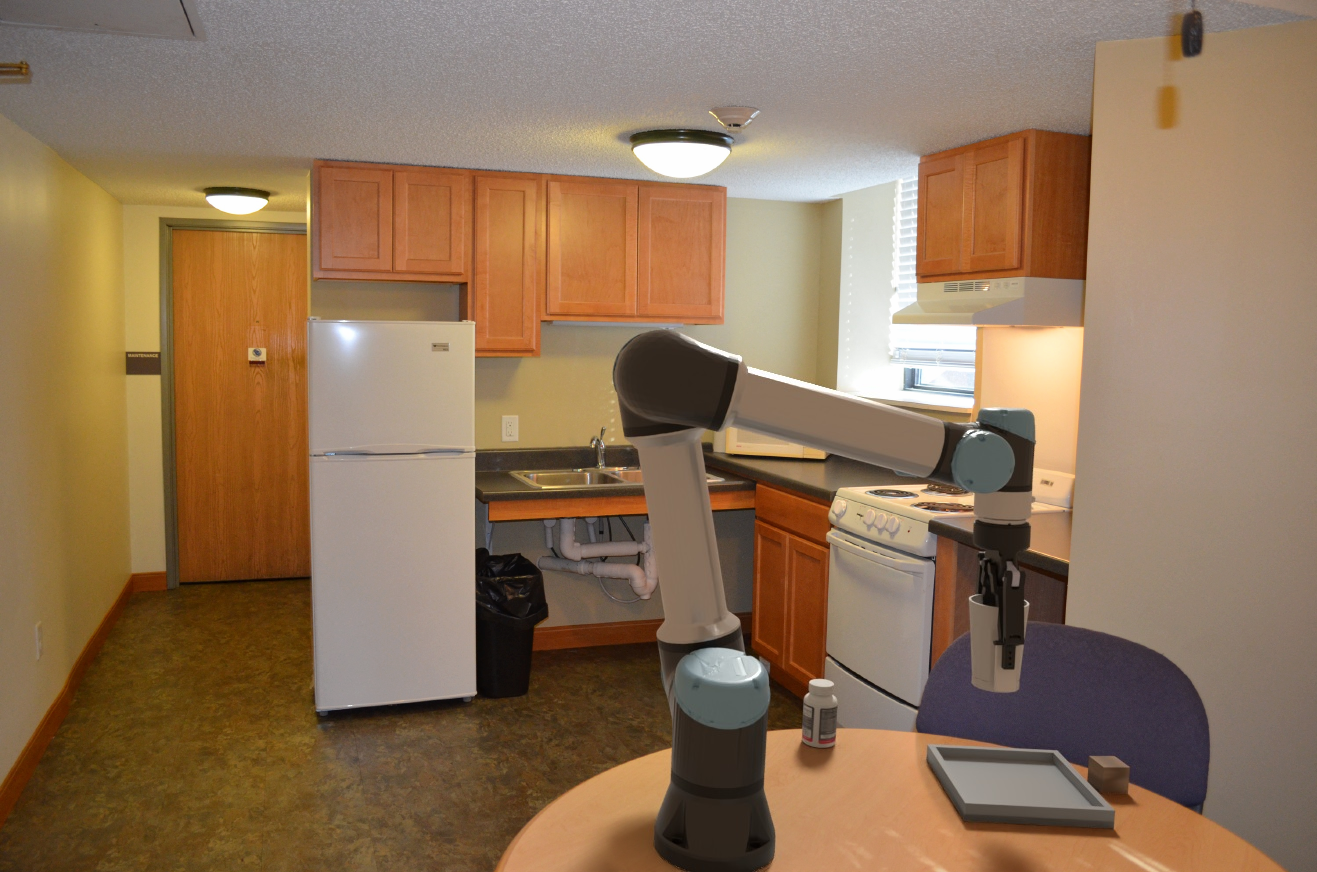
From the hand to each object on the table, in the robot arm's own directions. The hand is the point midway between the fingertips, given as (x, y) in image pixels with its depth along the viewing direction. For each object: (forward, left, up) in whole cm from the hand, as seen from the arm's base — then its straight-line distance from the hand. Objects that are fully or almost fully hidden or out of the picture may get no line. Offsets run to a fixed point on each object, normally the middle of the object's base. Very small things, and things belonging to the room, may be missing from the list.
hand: (995, 680), depth 136 cm
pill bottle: (-21, +18, -17) cm, 33 cm away
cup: (0, 0, -1) cm, 1 cm away
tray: (+5, +3, -17) cm, 18 cm away
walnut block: (+20, +6, -17) cm, 27 cm away
